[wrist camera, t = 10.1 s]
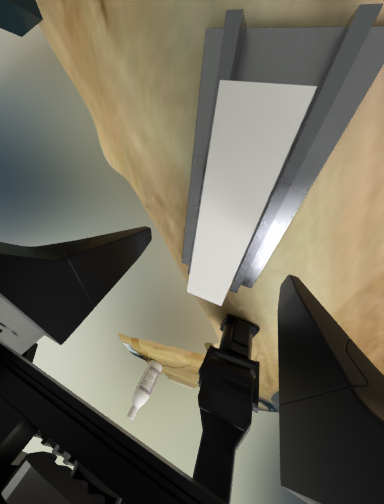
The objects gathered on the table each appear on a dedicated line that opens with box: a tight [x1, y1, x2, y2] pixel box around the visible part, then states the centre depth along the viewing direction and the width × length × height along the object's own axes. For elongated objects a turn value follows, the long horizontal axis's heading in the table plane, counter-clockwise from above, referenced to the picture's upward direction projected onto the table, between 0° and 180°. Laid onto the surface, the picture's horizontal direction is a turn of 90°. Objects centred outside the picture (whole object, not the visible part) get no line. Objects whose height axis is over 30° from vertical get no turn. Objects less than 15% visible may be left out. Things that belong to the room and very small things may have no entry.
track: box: [182, 4, 384, 293], centre depth 17 cm, size 24×12×3 cm, turn 173°
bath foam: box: [127, 360, 163, 420], centre depth 68 cm, size 7×7×20 cm
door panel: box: [187, 80, 317, 306], centre depth 14 cm, size 16×4×8 cm, turn 173°
